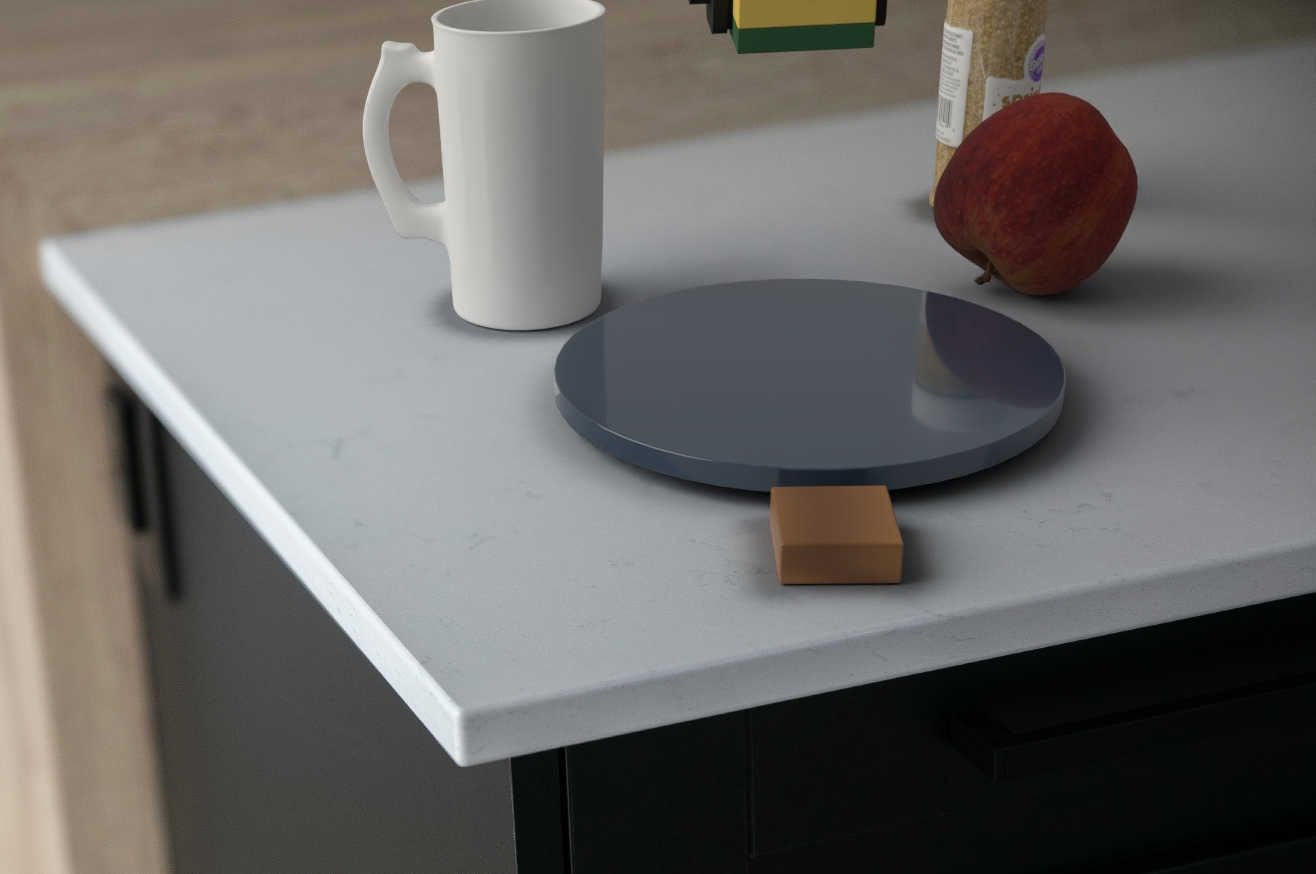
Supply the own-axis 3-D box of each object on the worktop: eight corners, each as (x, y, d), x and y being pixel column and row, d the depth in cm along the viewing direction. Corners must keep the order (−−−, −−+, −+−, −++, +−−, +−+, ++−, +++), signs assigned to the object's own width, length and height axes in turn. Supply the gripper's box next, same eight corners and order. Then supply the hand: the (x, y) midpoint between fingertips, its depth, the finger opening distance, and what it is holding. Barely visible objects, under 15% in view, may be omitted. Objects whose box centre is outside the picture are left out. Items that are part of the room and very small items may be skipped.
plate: (1008, 308, 75) (1012, 272, 74) (1115, 507, 59) (1121, 464, 58) (559, 319, 77) (558, 284, 76) (548, 514, 61) (547, 473, 61)
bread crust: (884, 524, 59) (887, 484, 59) (900, 584, 56) (904, 542, 55) (769, 525, 60) (770, 485, 59) (778, 585, 56) (780, 544, 56)
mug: (621, 281, 80) (619, -6, 74) (591, 337, 75) (587, 32, 69) (397, 273, 83) (379, -5, 77) (353, 327, 77) (329, 32, 72)
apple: (1143, 321, 73) (1173, 116, 69) (938, 324, 74) (955, 123, 70) (1104, 258, 79) (1129, 67, 75) (916, 262, 80) (930, 74, 76)
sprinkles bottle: (1025, 226, 83) (1059, -91, 77) (920, 220, 85) (945, -91, 78) (1033, 195, 87) (1067, -110, 80) (933, 190, 88) (957, -109, 82)
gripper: (1082, -627, 57) (1022, -13, 66) (532, -583, 59) (547, 11, 68) (1149, -650, 51) (1073, 34, 60) (529, -599, 52) (546, 59, 61)
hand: (793, 16), depth 64 cm, fingers closed on sponge, 4 cm apart
